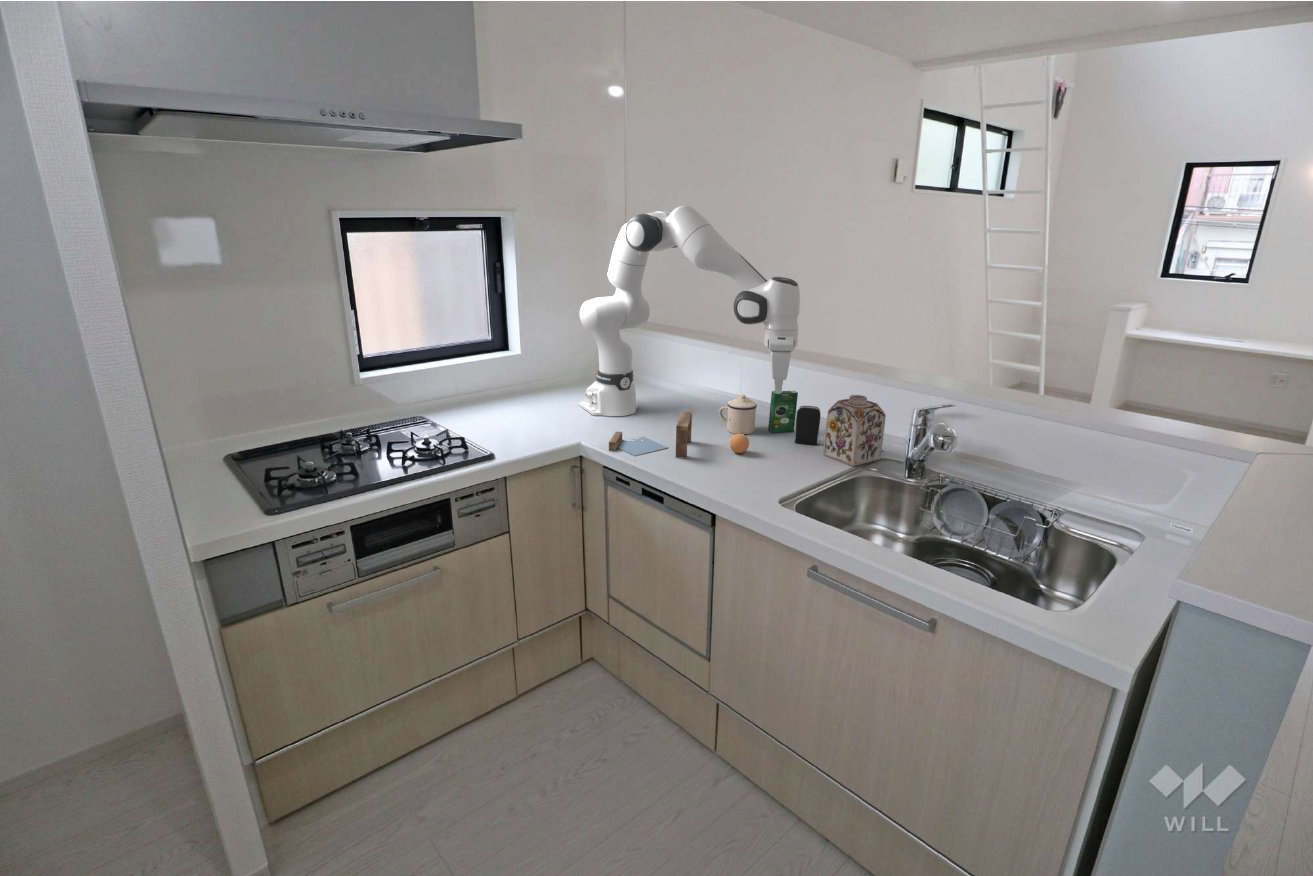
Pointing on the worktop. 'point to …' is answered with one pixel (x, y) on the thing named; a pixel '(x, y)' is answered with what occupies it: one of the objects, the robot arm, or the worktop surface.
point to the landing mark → (640, 446)
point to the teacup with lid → (740, 415)
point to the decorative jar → (854, 431)
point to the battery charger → (807, 425)
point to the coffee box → (782, 411)
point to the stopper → (615, 441)
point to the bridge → (683, 433)
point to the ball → (739, 443)
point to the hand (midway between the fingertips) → (777, 389)
